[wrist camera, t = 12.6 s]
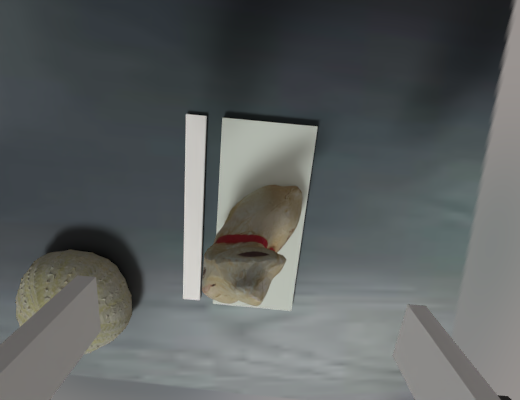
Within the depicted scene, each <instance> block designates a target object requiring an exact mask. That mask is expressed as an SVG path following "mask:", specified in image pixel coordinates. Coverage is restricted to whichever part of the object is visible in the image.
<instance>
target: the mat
mask: <svg viewBox="0 0 520 400" xmlns="http://www.w3.org/2000/svg"><path fill="white" fill-rule="evenodd" d="M317 128H318V127H317V126H308V125H297V124H287V123H276V122H266V121H255V120H245V119H234V118H222V135H221V154H220V174H219V194H218V213H217V233H218V232H219V231H220V229H221V228H222V227H223V225H224V223H225V221H226V219H227V217H228V215H229V213H230V210H231V209H232V208H233V207H234V206H235V205H236V204H237V203H238V202H239V201H241V200H242V199H243V197H245V196H247V195H249V194H250V193H252V192H253V191H255V190H257V189H259V188H261V187H264V186H267V185H278V186H298V187H299V189H300V190H301V192H302V197H303V199H302V210H301V216H300V219H299V222H298V224H297V227H296V229H295V231H294V232H293V234H292V235H291V236H290V238H289V239H288V241H287V242H286V243H285V245H284V246H283V247H282V248H281V249H280V250H279V251H278V254H281V255H283V256H284V257H285V258H286V262H285V264H284V266H283V268H282V270H281V271H280V273H279V274H277V275H276V276H275V277H274V278H273V280H272V281H271V284H270V287H269V289H268V292H267V294H266V296H265V298H264V300H263V302H262V303H261V304H260V305H259V306H252V305H249V304H246V303H244V302H241V301H237V302H235V303H232V304H228V303H221V302H218V301H216V300H213V304H222V305H233V306H244V307H254V308H265V309H276V310H287V311H291V309H292V302H293V295H294V288H295V281H296V274H297V267H298V260H299V253H300V246H301V239H302V232H303V225H304V218H305V211H306V205H307V198H308V191H309V184H310V177H311V170H312V163H313V156H314V149H315V142H316V135H317ZM217 233H216V235H217Z"/></svg>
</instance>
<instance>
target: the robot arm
mask: <svg viewBox="0 0 520 400" xmlns="http://www.w3.org/2000/svg"><path fill="white" fill-rule="evenodd" d="M100 331H101V326H100V315H99V305H98V294H97V284H96V277H90V276H79V275H77V276H76V277H75V278H74V279H73V280H72V281H71V282H70V283H68V284H67V285H66V286H65V287H64V288H63V289H62V290H61V291H60V292H58V293H57V294H56V295H55V296H54V297H53V298H52V299H51V300H50V301H48V302H47V303H46V304H45V305H44V306H43V307H42V308H41V309H40V310H38V311H37V312H36V313H35V314H34V315H33V316H32V317H31V318H30V319H28V320H27V321H26V322H25V323H24V324H23V325H22V326H21V327H20V328H18V329H17V330H16V331H15V332H14V333H13V334H12V335H11V336H10V337H8V338H7V339H6V340H5V341H4V342H3V343H2V344H1V345H0V400H50V399H51V398H52V397H53V395H54V394H55V392H56V391H57V390H58V389H59V387H60V386H61V384H62V383H63V382H64V380H65V379H66V378H67V376H68V375H69V374H70V372H71V371H72V369H73V368H74V367H75V365H76V364H77V363H78V361H79V360H80V359H81V357H82V356H83V354H84V353H85V352H86V350H87V349H88V348H89V346H90V345H91V344H92V342H93V341H94V339H95V338H96V337H97V335H98V334H99V333H100ZM393 357H394V359H395V361H396V363H397V365H398V367H399V369H400V371H401V373H402V375H403V377H404V379H405V381H406V383H407V385H408V387H409V389H410V391H411V393H412V394H413V396H414V398H415V400H511V399H510V398H509V397H508V396H499V395H497V394H496V393H495V392H494V391H493V389H492V388H491V387H490V386H489V384H488V383H487V382H486V381H485V379H484V378H483V377H482V376H481V375H480V373H479V372H478V371H477V369H476V368H475V367H474V366H473V365H472V363H471V362H470V361H469V360H468V358H467V357H466V356H465V354H464V353H463V352H462V351H461V349H460V348H459V347H458V346H457V345H456V343H455V342H454V341H453V339H452V338H451V337H450V336H449V334H448V333H447V332H446V331H445V330H444V328H443V327H442V326H441V325H440V323H439V322H438V321H437V320H436V318H435V317H434V316H433V315H432V313H431V312H430V311H429V310H428V308H427V307H426V306H421V305H410V304H408V305H407V308H406V311H405V315H404V318H403V322H402V325H401V329H400V332H399V336H398V339H397V342H396V346H395V349H394V353H393Z"/></svg>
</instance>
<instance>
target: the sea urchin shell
mask: <svg viewBox="0 0 520 400" xmlns="http://www.w3.org/2000/svg"><path fill="white" fill-rule="evenodd" d="M77 275H79V276H90V277H96V284H97V294H98V305H99V315H100V326H101V331H100V333H99V334H98V335H97V337H96V338H95V339H94V341H93V342H92V344H91V345H90V346H89V348H88V349H87V350H86V352H85V353H84V354H87V353H91V352H92V351H94V350H96V349H98V348H100V347H102V346H104V345H106V344H109V343H110V341H113V340H114V339H115V338H116V337H117V336H118V335H119V334H120V333H121V332H122V331H123V330H124V329H125V328H126V326H127V325H128V323H129V320H130V318H131V315H132V299H131V296H132V295H131V293H130V291H129V289H128V286H127V283H126V280H125V278H124V277H123V275H122V274H121V273H120V271H119V269H118V267H117V266H116V265H115V264H114V263H112V262H111V261H109V259H106V258H104V257H101V256H98V255H97V254H94V253H93V252H83V251H78V250H77V251H75V250H71V249H69V250H66V251H58V252H50V253H47V254H46V255H44V256H42V257H40V258H38V259H37V260H36V261H34V263H33V264H32V265H31V267H30V268H29V270H28V271H27V273H26V274H24V277H23V278H21V283H20V288H19V290H18V293H17V297H16V300H17V301H16V302H15V303H16V305H17V308H16V318H17V320H18V322H19V326H20V327H21V326H22V325H23V324H24V323H25V322H26V321H27V320H28V319H30V318H31V317H32V316H33V315H34V314H35V313H36V312H37V311H38V310H40V309H41V308H42V307H43V306H44V305H45V304H46V303H47V302H48V301H50V300H51V299H52V298H53V297H54V296H55V295H56V294H57V293H58V292H60V291H61V290H62V289H63V288H64V287H65V286H66V285H67V284H68V283H70V282H71V281H72V280H73V279H74V278H75V277H76V276H77Z"/></svg>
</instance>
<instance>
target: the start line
mask: <svg viewBox="0 0 520 400" xmlns="http://www.w3.org/2000/svg"><path fill="white" fill-rule="evenodd" d="M206 129H207V116H202V115H192V114H186V144H185V207H184V270H183V299H191V300H200V295H201V268H202V240H203V212H204V184H205V157H206Z"/></svg>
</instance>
